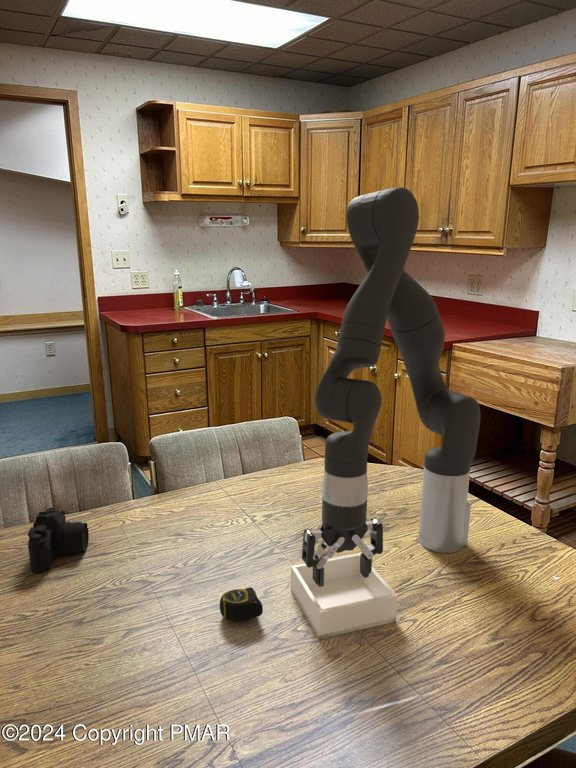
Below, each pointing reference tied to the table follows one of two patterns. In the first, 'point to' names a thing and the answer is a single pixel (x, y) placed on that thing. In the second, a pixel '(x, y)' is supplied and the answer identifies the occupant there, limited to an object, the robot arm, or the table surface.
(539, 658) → the table surface
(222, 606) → the tape measure
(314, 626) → the bin
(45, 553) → the film camera
